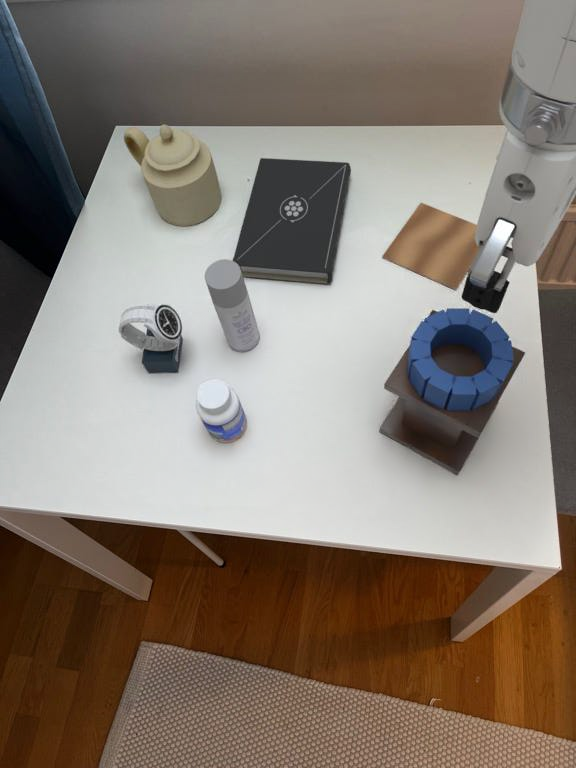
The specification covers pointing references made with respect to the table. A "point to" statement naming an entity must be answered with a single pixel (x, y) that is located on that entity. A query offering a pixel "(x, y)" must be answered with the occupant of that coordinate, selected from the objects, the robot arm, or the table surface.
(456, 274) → the mat
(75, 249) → the table surface
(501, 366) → the ring
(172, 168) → the sugar bowl
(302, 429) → the table surface
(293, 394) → the table surface
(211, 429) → the pill bottle
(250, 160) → the table surface
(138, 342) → the watch
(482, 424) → the platform
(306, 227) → the book
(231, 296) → the container
